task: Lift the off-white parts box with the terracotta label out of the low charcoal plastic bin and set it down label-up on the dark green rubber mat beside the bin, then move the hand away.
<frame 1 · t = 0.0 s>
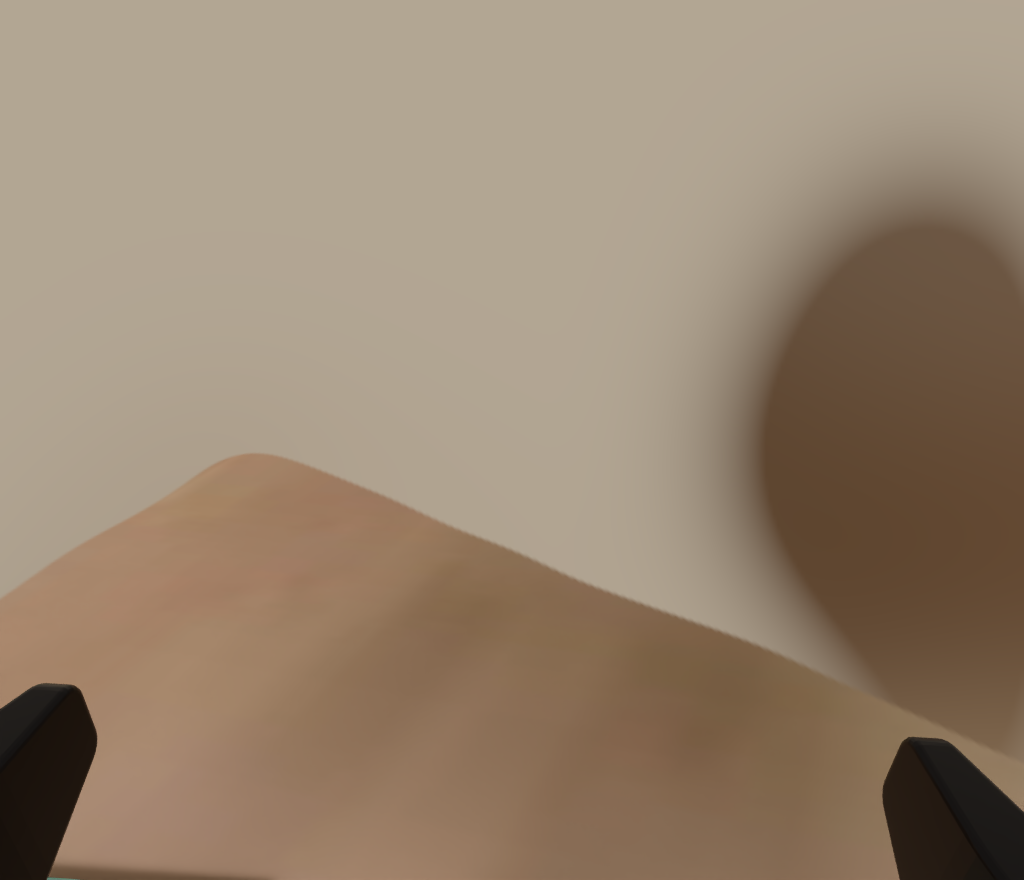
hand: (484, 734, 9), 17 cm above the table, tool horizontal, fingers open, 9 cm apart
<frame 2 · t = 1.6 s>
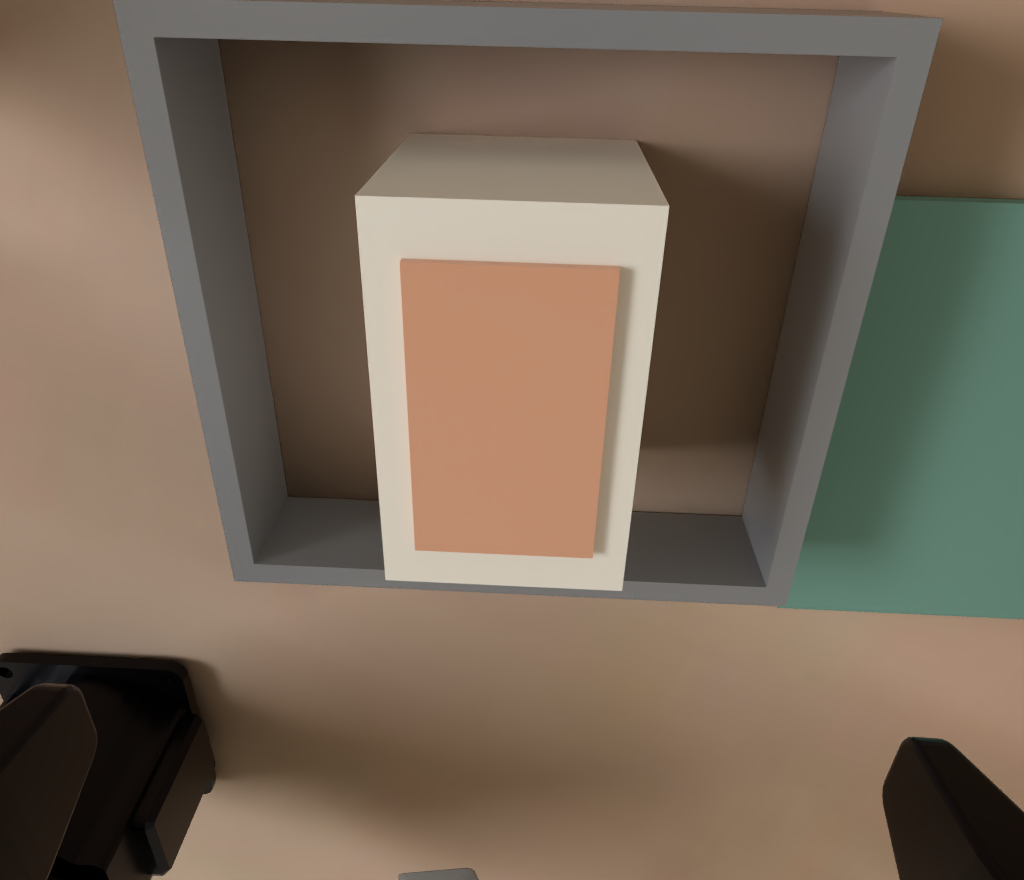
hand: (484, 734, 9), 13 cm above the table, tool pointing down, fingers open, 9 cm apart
rubber mat: (1011, 434, 20), on the table
parts box: (513, 356, 17), in the bin
bin: (518, 308, 19), on the table
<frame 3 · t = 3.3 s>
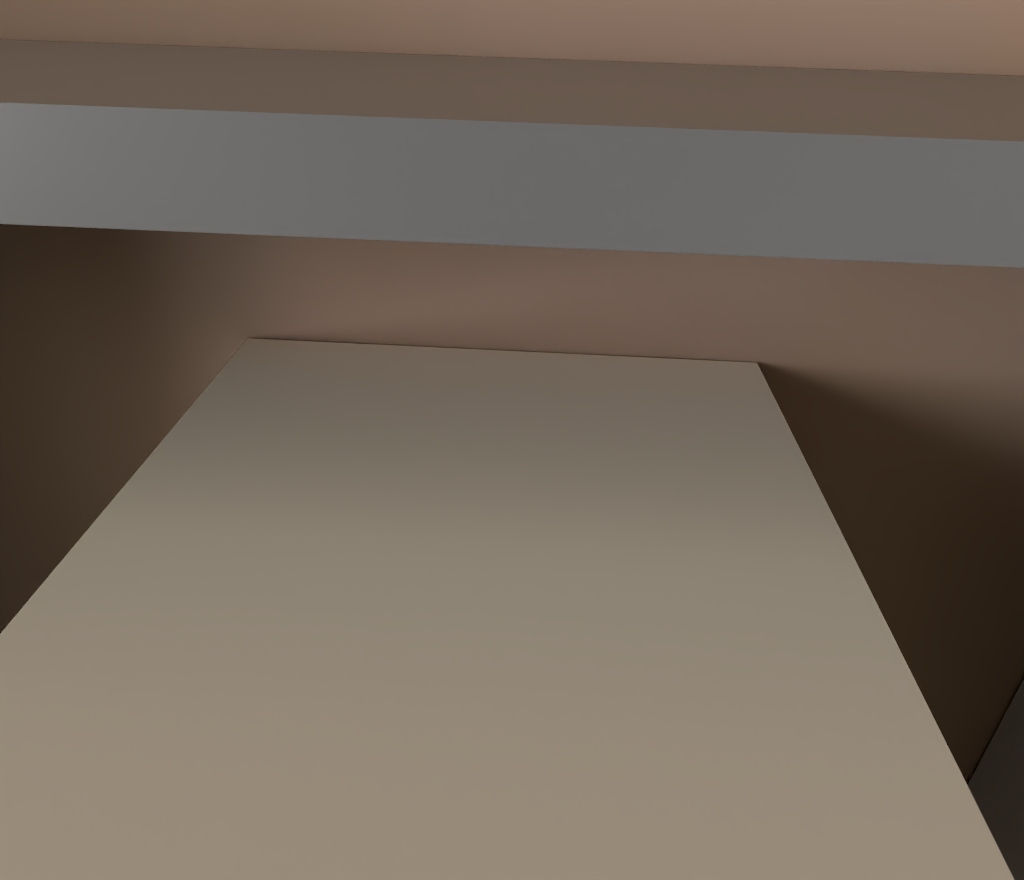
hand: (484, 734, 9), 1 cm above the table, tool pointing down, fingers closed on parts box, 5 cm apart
bin: (492, 645, 10), on the table
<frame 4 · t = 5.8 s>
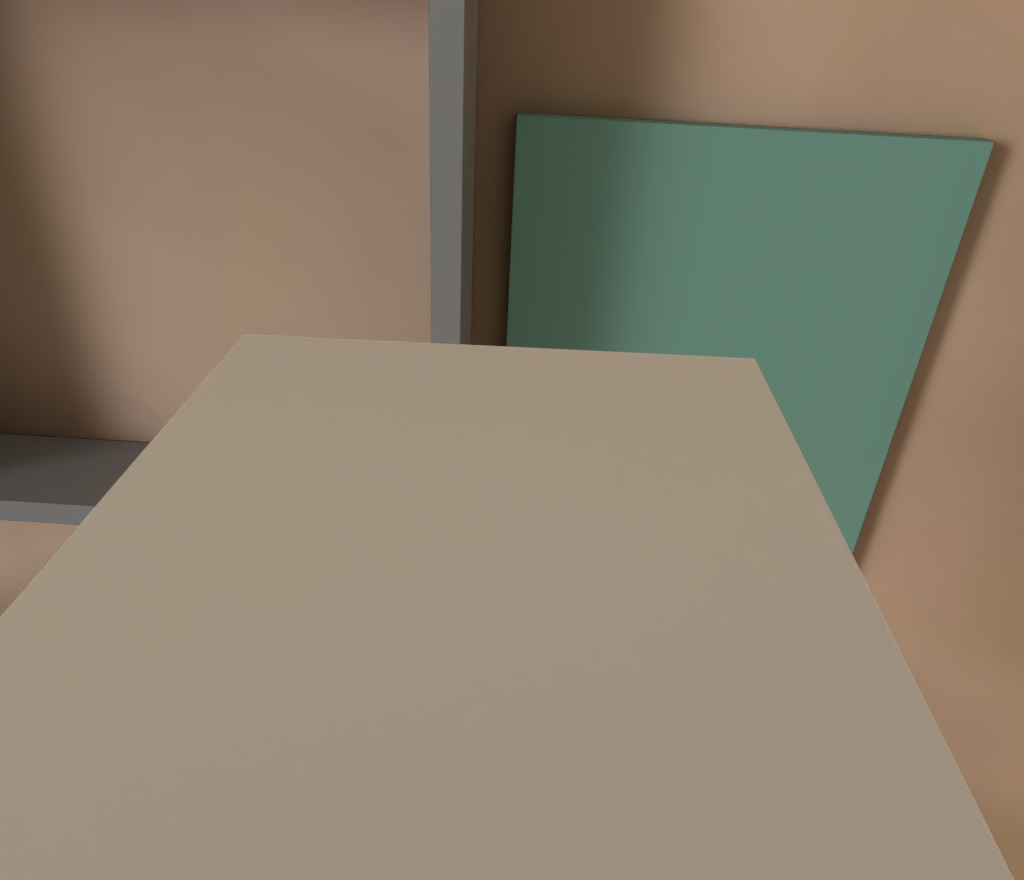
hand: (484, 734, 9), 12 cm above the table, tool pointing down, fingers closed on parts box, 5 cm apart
rubber mat: (702, 377, 20), on the table
bin: (173, 229, 18), on the table
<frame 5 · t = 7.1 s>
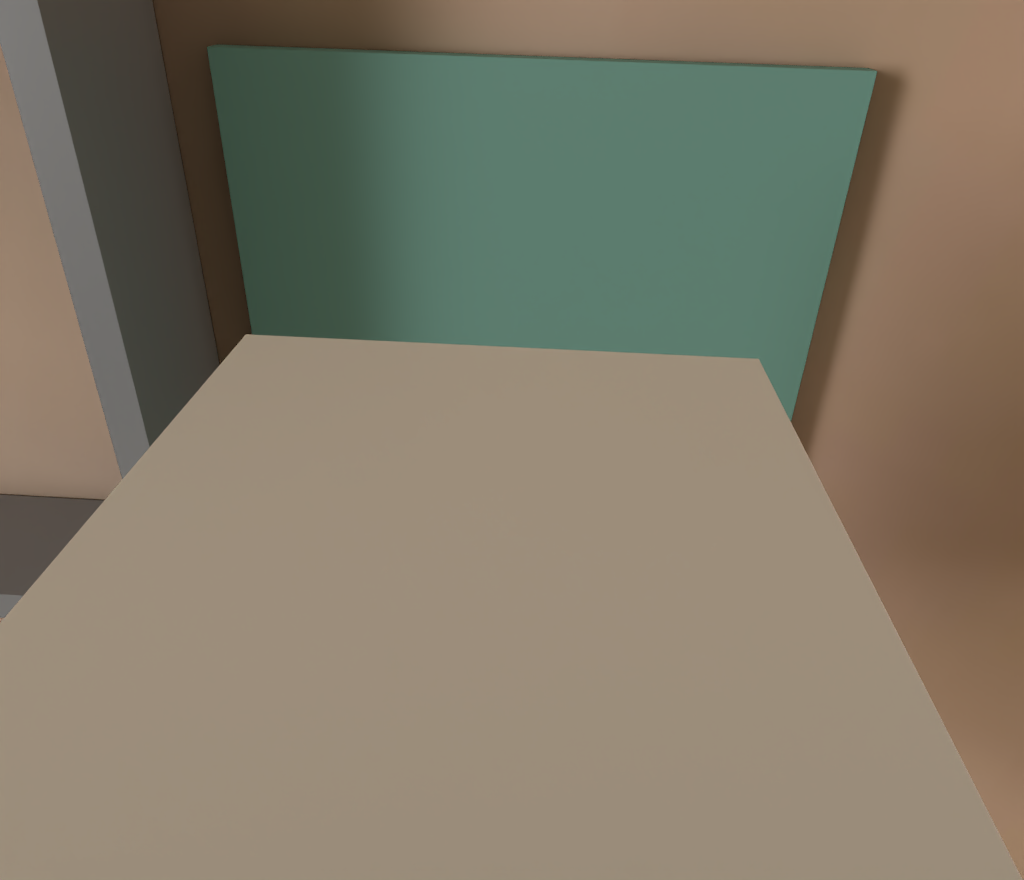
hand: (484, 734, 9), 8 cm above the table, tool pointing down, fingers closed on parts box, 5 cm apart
rubber mat: (524, 400, 15), on the table
when the fingers open (3 cm above the table, at t = 8.3 s): parts box drops 2 cm, resting on rubber mat.
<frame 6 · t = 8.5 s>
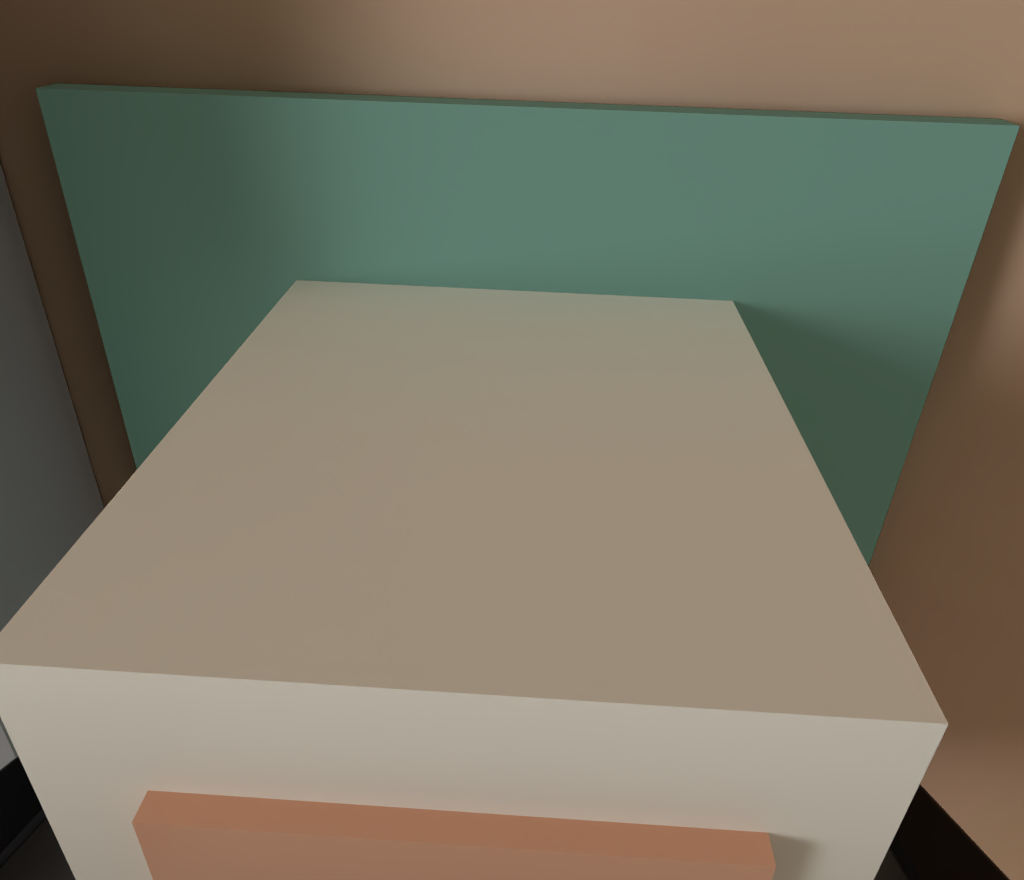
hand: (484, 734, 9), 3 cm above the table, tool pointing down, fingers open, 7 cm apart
rubber mat: (506, 545, 11), on the table
parts box: (486, 740, 8), on the rubber mat
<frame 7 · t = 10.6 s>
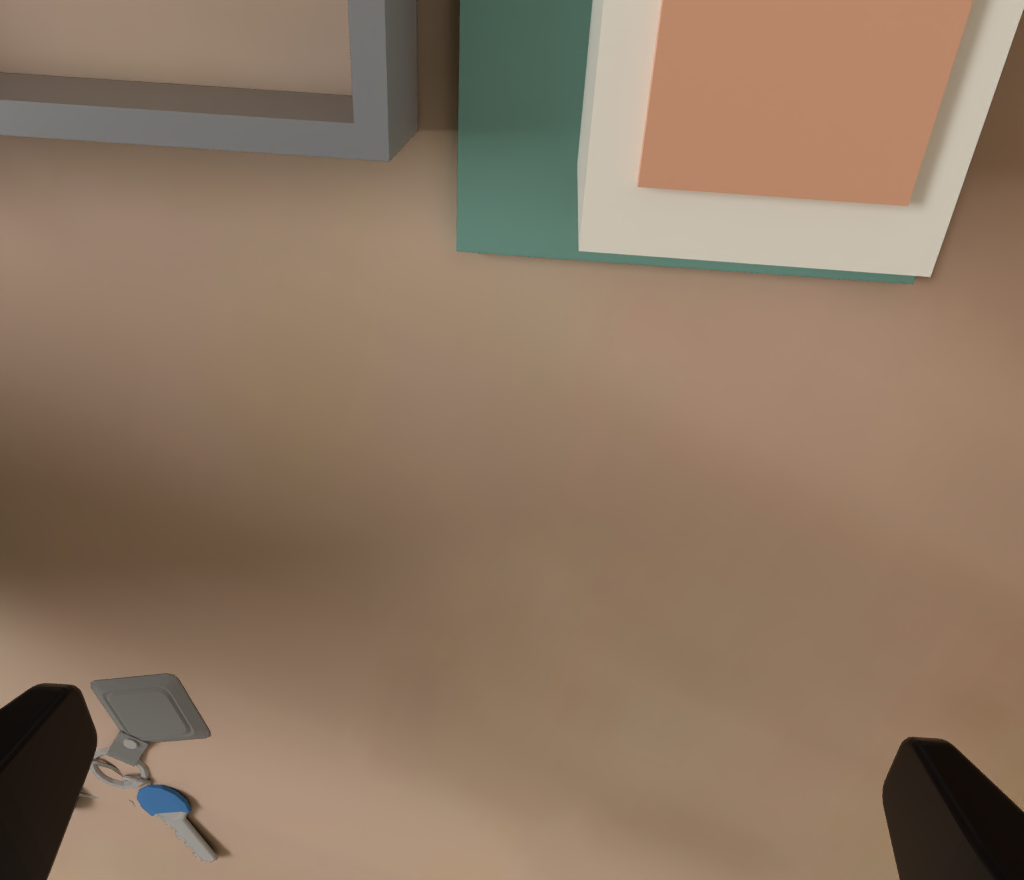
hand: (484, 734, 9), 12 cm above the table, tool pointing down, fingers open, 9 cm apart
key chain: (146, 781, 30), on the table
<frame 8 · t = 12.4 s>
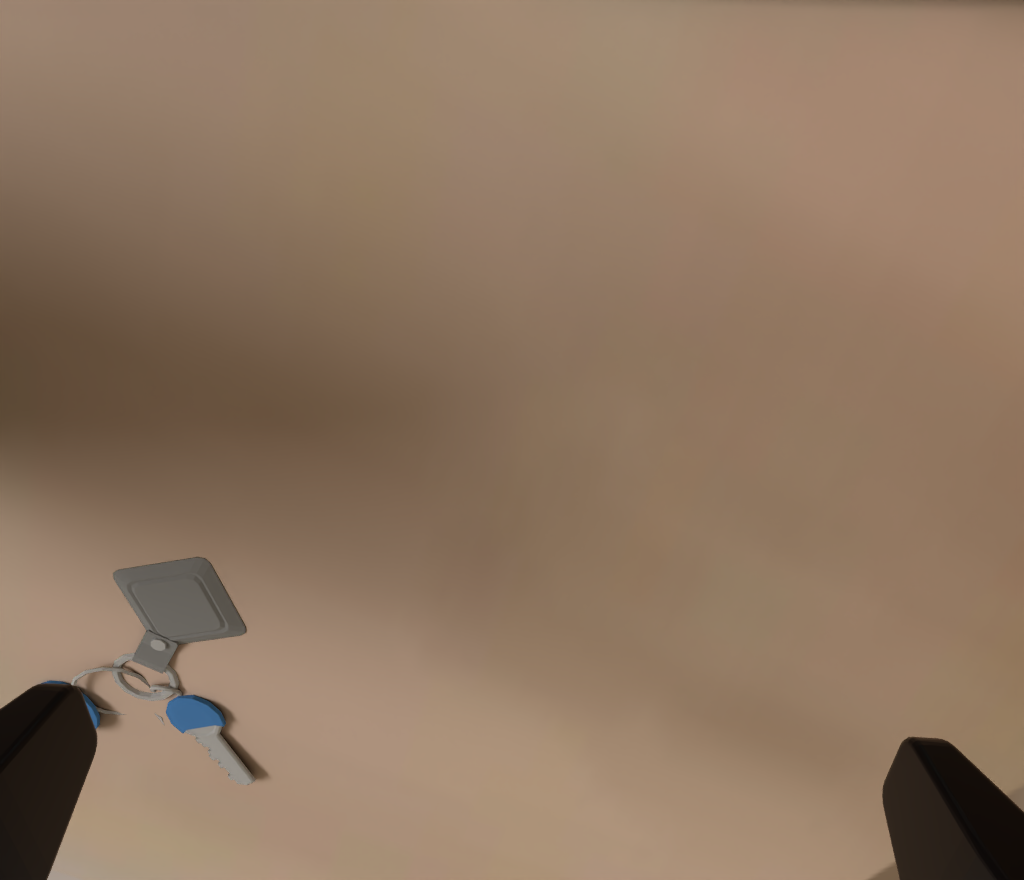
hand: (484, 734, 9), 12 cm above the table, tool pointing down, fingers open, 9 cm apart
key chain: (175, 695, 28), on the table
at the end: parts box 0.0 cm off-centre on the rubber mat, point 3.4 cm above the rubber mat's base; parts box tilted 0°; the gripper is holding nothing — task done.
